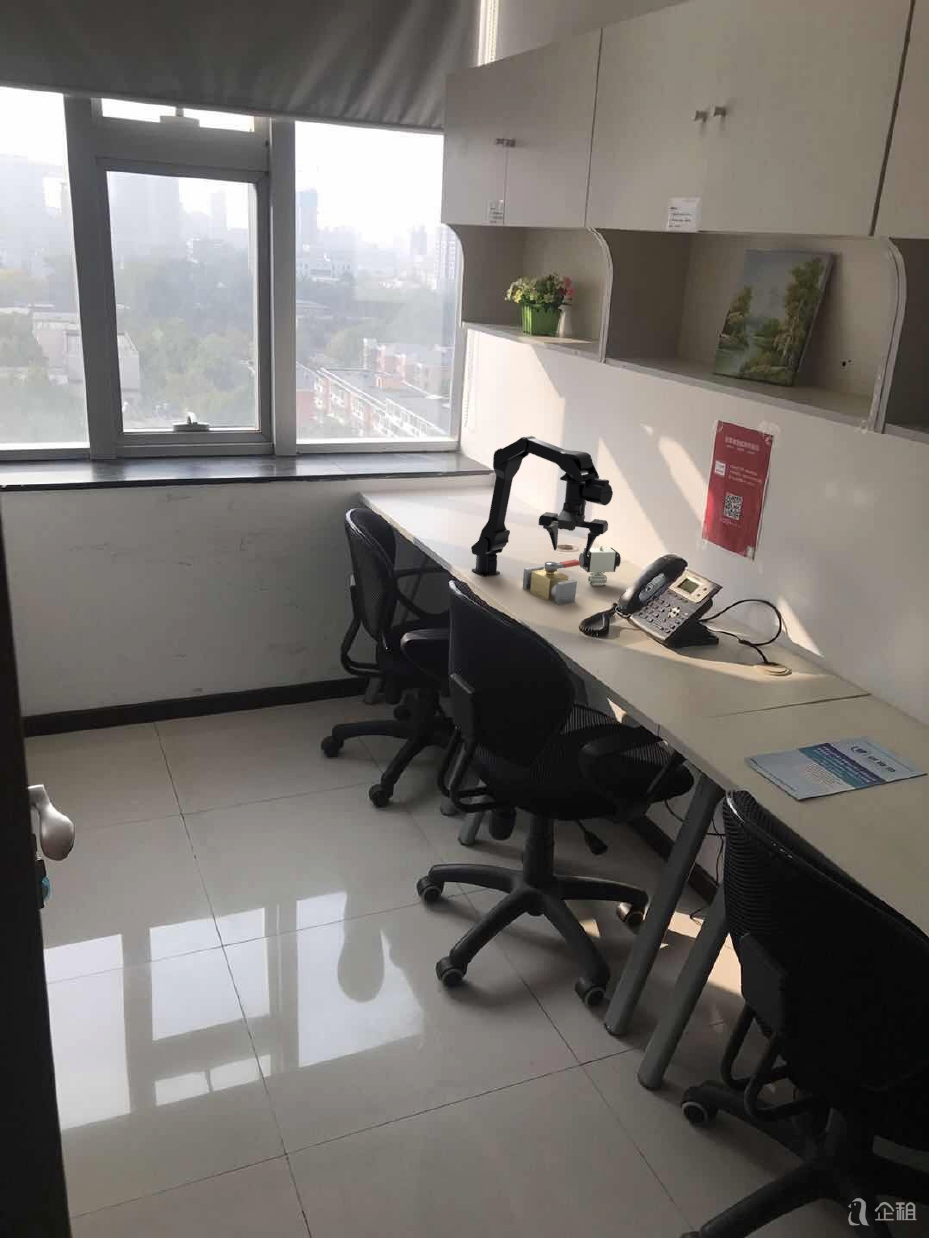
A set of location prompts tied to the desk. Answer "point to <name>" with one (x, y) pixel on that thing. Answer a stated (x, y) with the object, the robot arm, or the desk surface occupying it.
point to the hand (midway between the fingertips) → (570, 552)
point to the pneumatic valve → (599, 563)
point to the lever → (560, 565)
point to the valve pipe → (549, 585)
